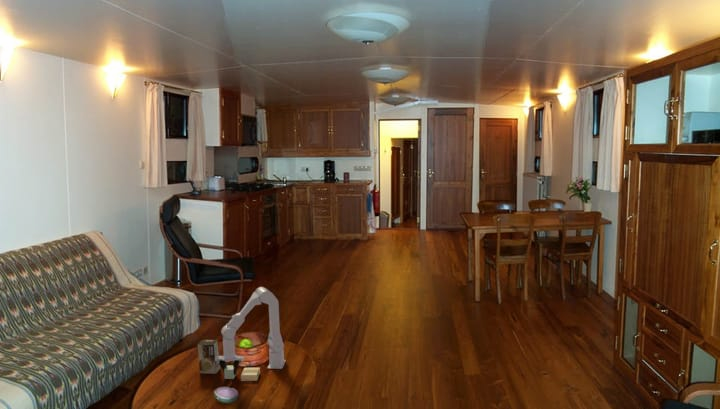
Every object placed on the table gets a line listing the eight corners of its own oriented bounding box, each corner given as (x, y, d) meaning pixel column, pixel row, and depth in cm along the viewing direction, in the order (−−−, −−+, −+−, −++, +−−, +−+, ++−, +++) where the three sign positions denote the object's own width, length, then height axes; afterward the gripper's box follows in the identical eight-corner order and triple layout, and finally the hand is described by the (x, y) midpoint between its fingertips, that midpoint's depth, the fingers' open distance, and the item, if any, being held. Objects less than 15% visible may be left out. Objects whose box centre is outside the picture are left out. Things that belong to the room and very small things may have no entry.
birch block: (244, 373, 260) (244, 367, 260) (260, 373, 260) (259, 367, 260) (241, 381, 252) (240, 374, 252) (256, 381, 252) (256, 374, 252)
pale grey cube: (227, 374, 259) (227, 365, 259) (236, 374, 259) (235, 365, 258) (224, 378, 255) (224, 369, 254) (233, 378, 255) (233, 369, 254)
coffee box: (220, 368, 266) (218, 339, 264) (216, 374, 260) (214, 344, 258) (204, 367, 267) (202, 339, 265) (199, 373, 261) (197, 344, 259)
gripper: (212, 352, 251) (213, 377, 253) (240, 352, 250) (242, 378, 252) (217, 346, 258) (218, 371, 260) (244, 346, 257) (245, 371, 259)
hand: (230, 374), depth 257 cm, fingers closed on pale grey cube, 5 cm apart
